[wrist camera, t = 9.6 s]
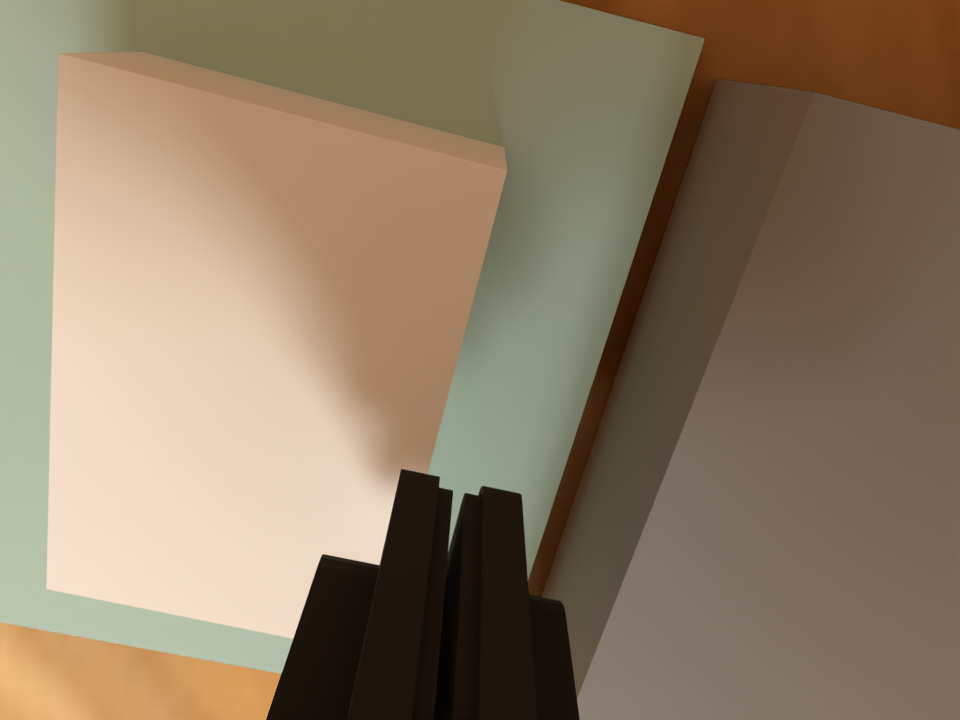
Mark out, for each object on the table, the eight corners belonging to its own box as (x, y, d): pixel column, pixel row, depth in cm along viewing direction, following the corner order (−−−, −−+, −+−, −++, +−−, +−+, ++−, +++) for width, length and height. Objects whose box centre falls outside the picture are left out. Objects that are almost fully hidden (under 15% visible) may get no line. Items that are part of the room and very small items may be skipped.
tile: (58, 52, 9) (143, 51, 12) (45, 589, 13) (114, 507, 15) (507, 170, 10) (503, 147, 12) (380, 656, 13) (396, 567, 16)
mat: (698, 38, 12) (704, 38, 12) (485, 697, 18) (485, 711, 17) (-200, -197, 11) (-224, -206, 10) (-114, 586, 17) (-127, 598, 16)
